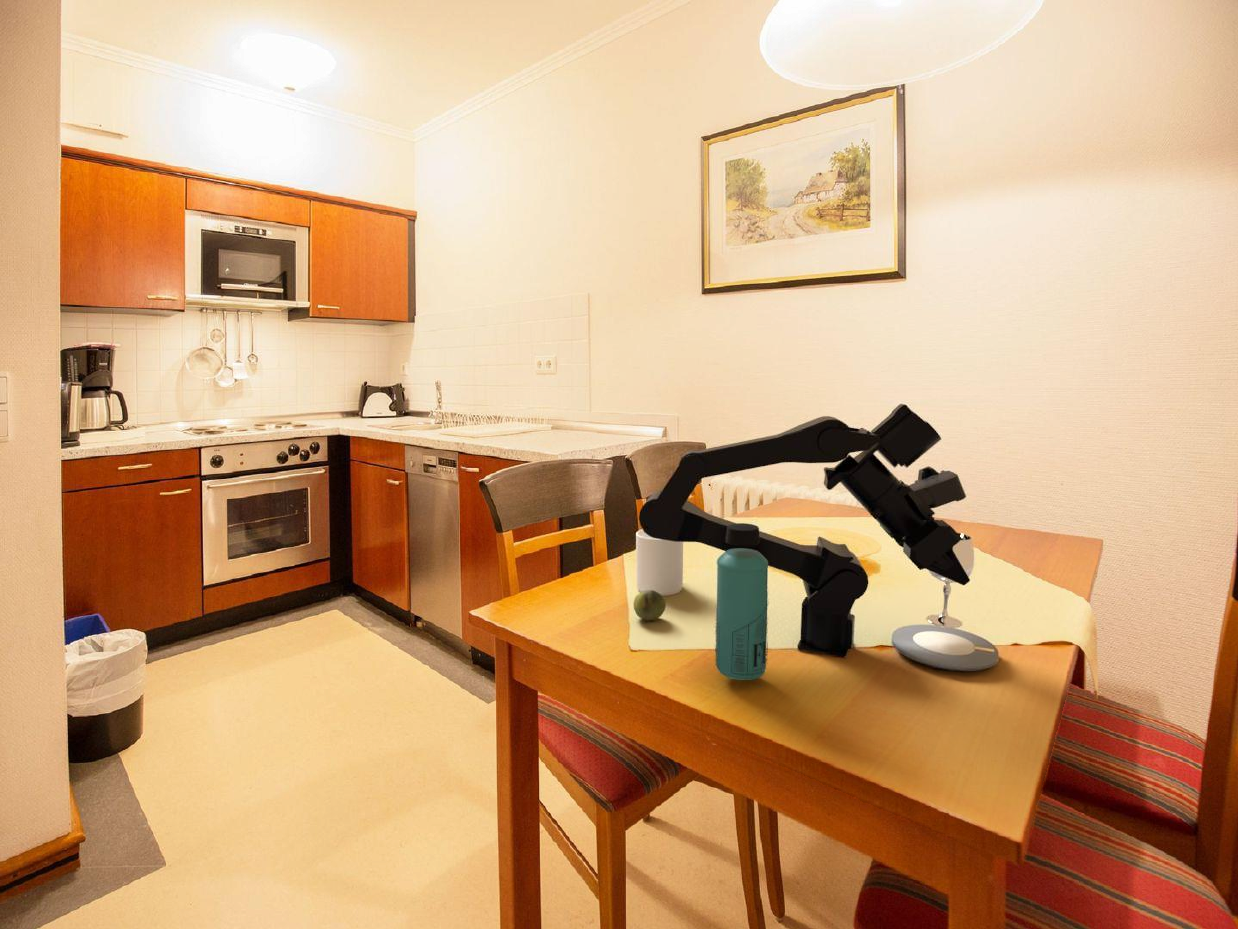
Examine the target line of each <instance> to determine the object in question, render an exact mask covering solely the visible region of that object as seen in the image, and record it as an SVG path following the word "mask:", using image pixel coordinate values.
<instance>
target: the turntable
mask: <svg viewBox="0 0 1238 929" xmlns="http://www.w3.org/2000/svg"><path fill="white" fill-rule="evenodd" d="M891 645H892V646H893V648H894V649H895V650H896V651H897V652H898V653H900V654H901V655H903V656H905V657H906V658H909V659H911V660H912V661H914V660H915V662H916V661H918V662H920V663H919V664H921V663H923V664H927V665H930V666H934V667H939V668H944V669H950V670H961V671H965V672H972V671H982V670H987V669H989V668H993V667H994V666H995V665H997V663H998V661H999V650H998V648H997V647H996V645H995V644H993V643H992V642H990V641H989V640H987V639H986V638H983V637H981V636H980V635H977V634H974V633H972V632H969V631H965V630H964V629H963V630H962V629H959V628H946V627H940V626H937V625H934V624H911V625H910V624H909V625H904V626H901V627H898V628H897V629H895V630H894V631H893V632H892V634H891ZM918 662H917V663H918ZM923 664H922V665H923Z"/></svg>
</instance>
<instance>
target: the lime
mask: <svg viewBox="0 0 1238 929" xmlns="http://www.w3.org/2000/svg"><path fill="white" fill-rule="evenodd" d="M666 606H667V602H666V599H665V598H664V596H662V595H661V594H659V593H657V592H656V591H653V590H645V591H642V592H639V593H638V594H637V595H636V596H635V597H634V600H633V609H634V612H635V614H636V616H637V617H638V618H640V619H642V620H644V621H647V622H648V621H656V620H657V619H658V618H659V619H660V618H661V617H662V615H663V614H664V612H665V610H666Z"/></svg>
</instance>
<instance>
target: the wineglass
mask: <svg viewBox="0 0 1238 929" xmlns="http://www.w3.org/2000/svg"><path fill="white" fill-rule="evenodd" d="M957 533H958V534H959V535H960V536H961V537H962V538H961V540H960V541H959V542H958V543H957V544H956V545H955V546H953V551H954V553H955V555H956V557H957V558H958V560H959V562H960V564H961V565H962V567H963V569H964V570H965V572H966V574H967V575H968V577H969V578H970V576H971V574H973V573H972V572H973V570H974V567H975V566H974V565H975V550H974V544H973V539H972V538H973V537H971V536H970V535H967V534H964V533H960V532H957ZM927 571H928V572H929V574H930V575H931V576H932V577H934V578H935V579H936V580H938V581H941V582H944V585H943V586H942V593H943V607H942V608H943V609H942V611H941V613H940V614H929V615H926V617H925V620H926V621H927V622H928V623H929V624H930V625H937V626H940V627H946V628H955V629H959V628H961V627H963V622H962V621H961V620H959V619H958V618H956V617H953V616H950V615H949V613H948V603H949V597H950V595H951V592H952V587H951V586H952V585H951V584H953V583H954V584H955V583H957V582H955V581H952V580H950V579H948V578H946V577H944V576H941V575H939V574H937V573H934V572H932V571H930V570H927Z"/></svg>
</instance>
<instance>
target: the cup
mask: <svg viewBox="0 0 1238 929" xmlns="http://www.w3.org/2000/svg"><path fill="white" fill-rule="evenodd" d="M635 540H636V541H635V549H636V550H635V557H636V558H635V564H636V565H635V580H636V581H635V582H636V583H635V584H636V588H637V590H638V591H639V593H641V592H642V591H645V590H653V591H656V592H657V593H659V594H661V595H662V596H663V597H668V596H672V595H676V594H678V593H679V592H681V590H682V588H683V582H684V577H683V576H684V542H675V541H668V540H662V539H656V538H652V537H650V536H649V535H647V534H646V533H645V532H644V531H643V529H639V530H638V531H636V533H635Z"/></svg>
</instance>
